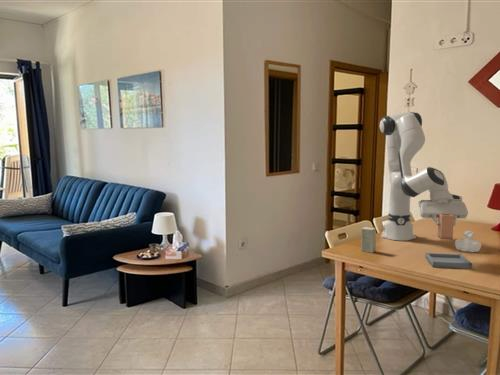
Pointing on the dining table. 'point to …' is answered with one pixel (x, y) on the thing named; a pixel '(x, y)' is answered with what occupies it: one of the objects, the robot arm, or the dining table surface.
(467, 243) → the bust
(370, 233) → the skincare box
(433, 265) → the tray
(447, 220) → the cup
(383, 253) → the dining table surface
